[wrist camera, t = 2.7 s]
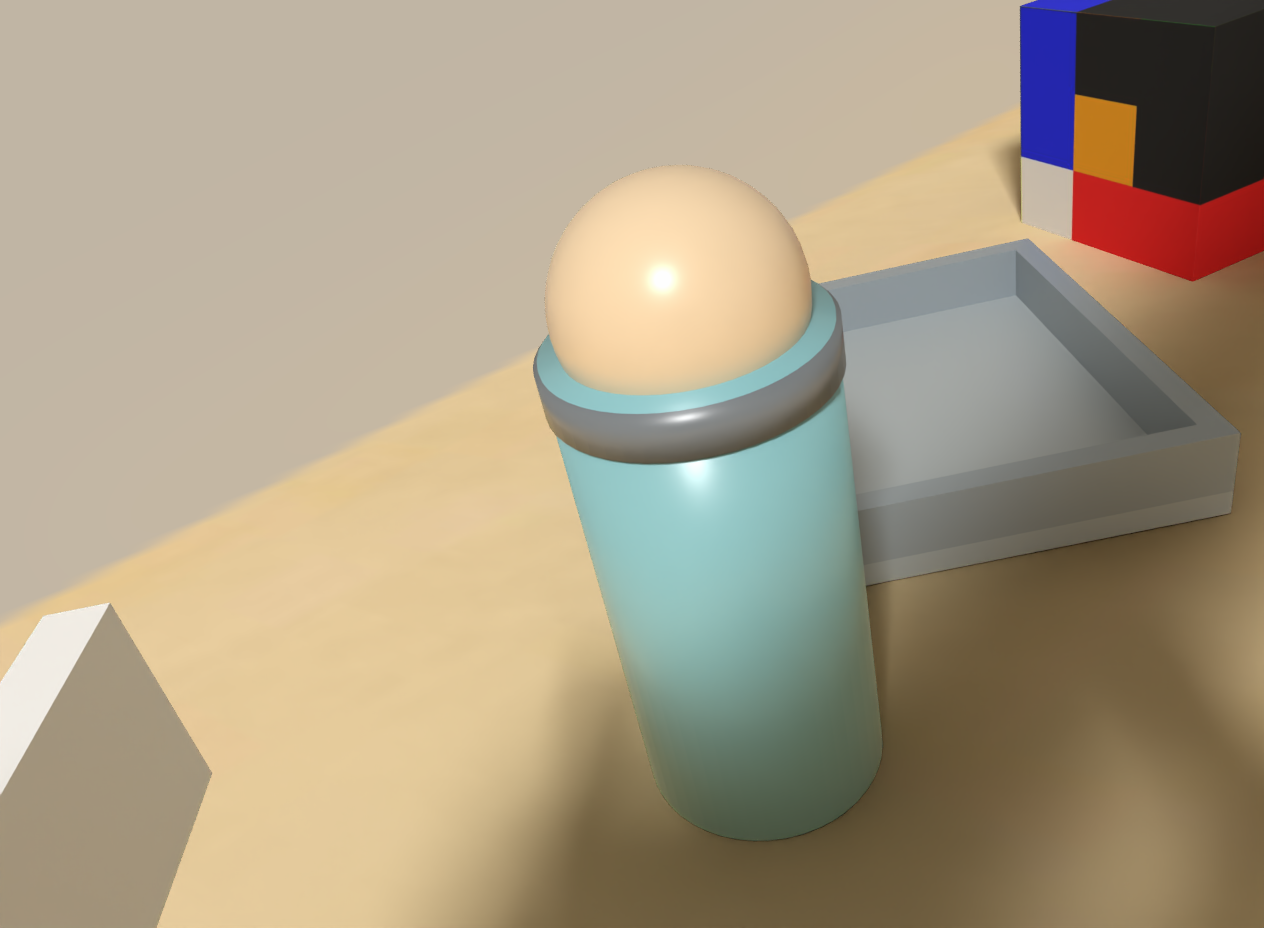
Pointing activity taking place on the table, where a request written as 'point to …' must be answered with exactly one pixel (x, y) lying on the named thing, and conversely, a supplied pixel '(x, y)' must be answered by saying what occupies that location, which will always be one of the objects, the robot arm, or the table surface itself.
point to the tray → (1012, 416)
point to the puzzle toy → (1145, 128)
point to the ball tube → (717, 495)
